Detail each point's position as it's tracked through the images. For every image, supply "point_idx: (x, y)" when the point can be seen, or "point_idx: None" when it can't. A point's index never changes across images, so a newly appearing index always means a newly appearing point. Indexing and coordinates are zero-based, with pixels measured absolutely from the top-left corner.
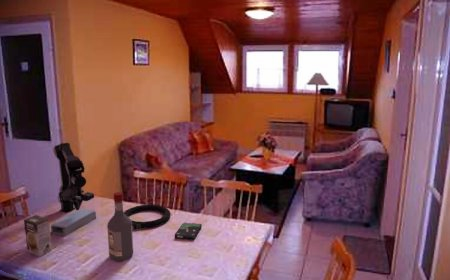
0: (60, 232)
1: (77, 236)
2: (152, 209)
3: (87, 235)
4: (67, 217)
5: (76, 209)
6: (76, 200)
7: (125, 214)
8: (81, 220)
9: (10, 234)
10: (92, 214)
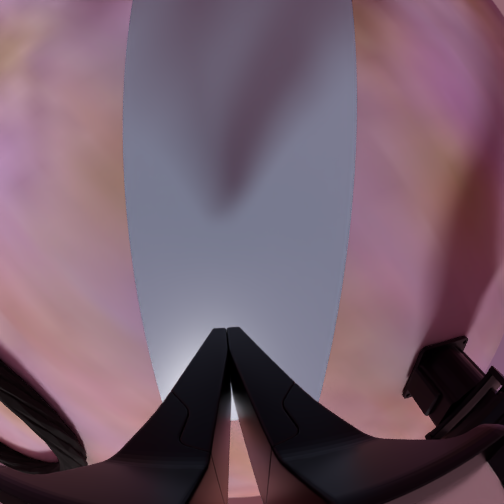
0: None
1: (63, 71)
2: (38, 464)
3: (13, 126)
4: (322, 204)
5: (234, 332)
6: (18, 493)
7: (21, 417)
8: None
9: (494, 19)
10: None
